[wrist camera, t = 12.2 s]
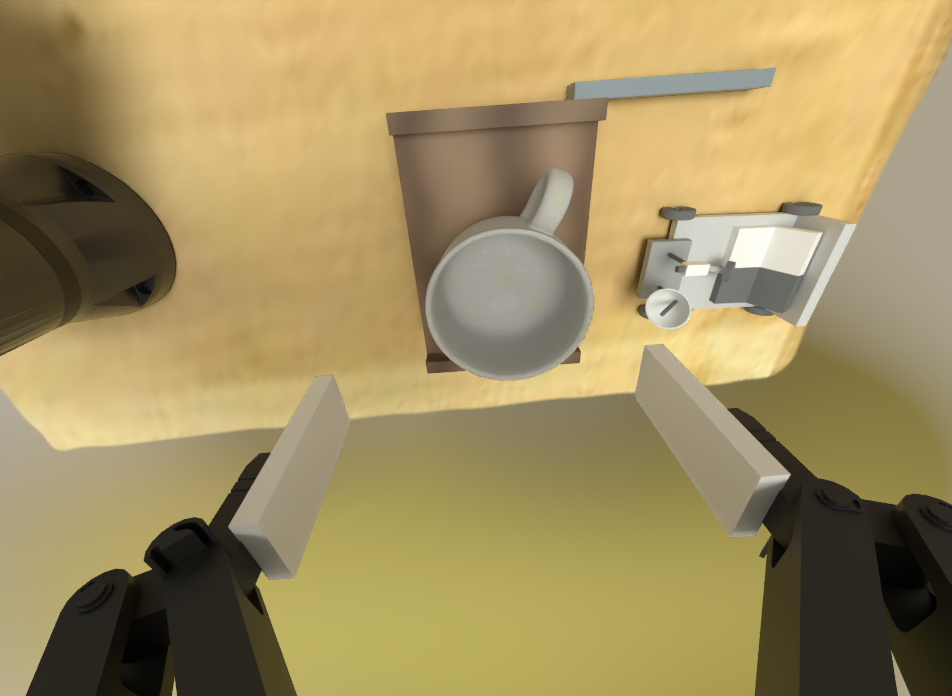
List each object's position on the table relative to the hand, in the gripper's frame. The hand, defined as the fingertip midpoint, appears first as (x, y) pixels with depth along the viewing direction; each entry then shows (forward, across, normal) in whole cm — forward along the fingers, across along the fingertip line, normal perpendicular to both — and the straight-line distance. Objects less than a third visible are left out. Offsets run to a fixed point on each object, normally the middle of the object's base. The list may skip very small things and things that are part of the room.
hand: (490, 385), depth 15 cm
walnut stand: (+25, -2, -1) cm, 25 cm away
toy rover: (+25, -25, +5) cm, 36 cm away
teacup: (+16, -3, 0) cm, 16 cm away
